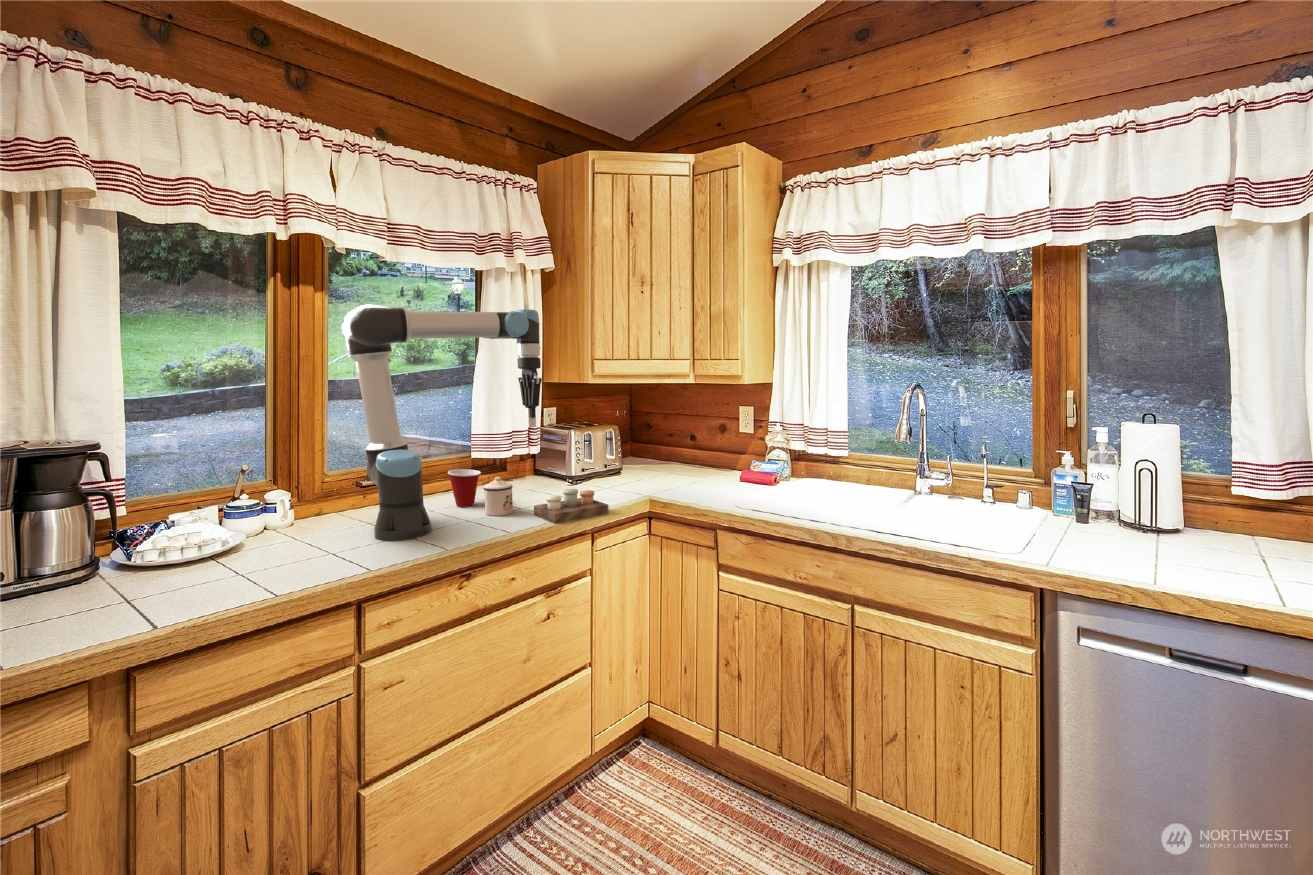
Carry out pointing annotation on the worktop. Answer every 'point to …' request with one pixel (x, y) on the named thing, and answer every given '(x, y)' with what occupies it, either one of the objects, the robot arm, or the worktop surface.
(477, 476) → the plastic cup
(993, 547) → the worktop surface
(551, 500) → the cream button
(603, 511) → the button board
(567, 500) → the sage button
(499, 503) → the teacup with lid
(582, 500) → the pink short cylinder
